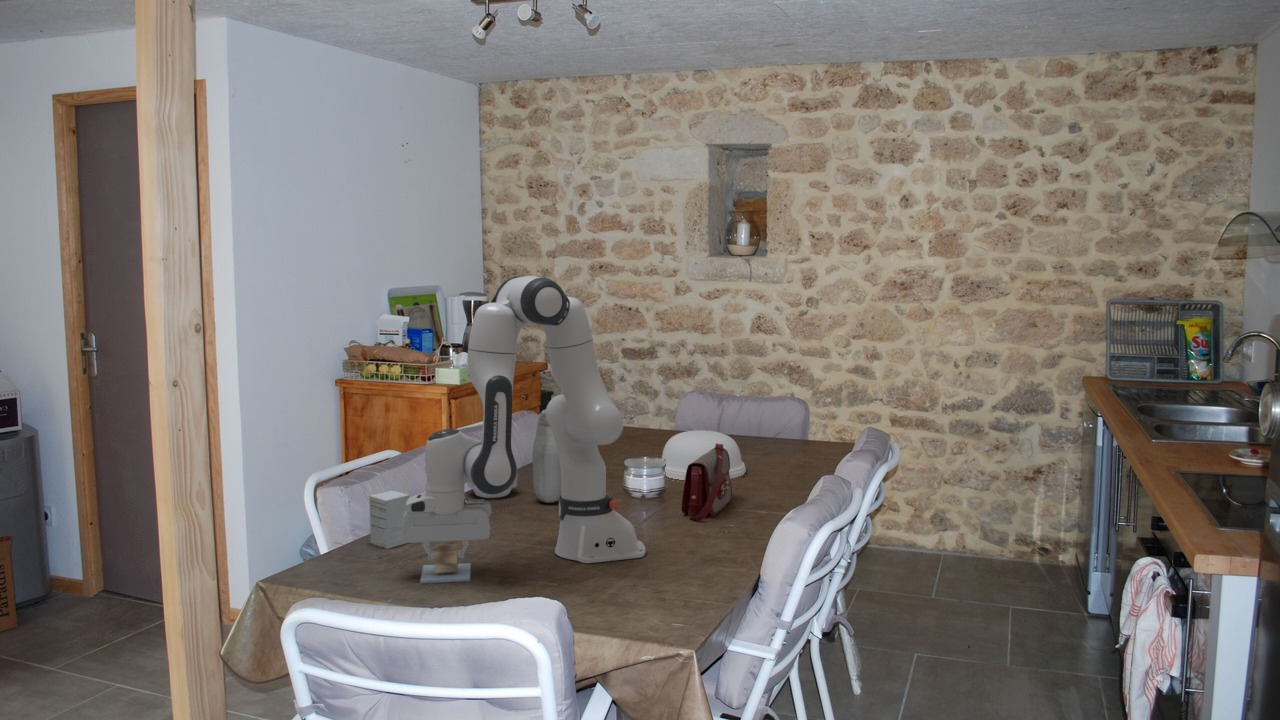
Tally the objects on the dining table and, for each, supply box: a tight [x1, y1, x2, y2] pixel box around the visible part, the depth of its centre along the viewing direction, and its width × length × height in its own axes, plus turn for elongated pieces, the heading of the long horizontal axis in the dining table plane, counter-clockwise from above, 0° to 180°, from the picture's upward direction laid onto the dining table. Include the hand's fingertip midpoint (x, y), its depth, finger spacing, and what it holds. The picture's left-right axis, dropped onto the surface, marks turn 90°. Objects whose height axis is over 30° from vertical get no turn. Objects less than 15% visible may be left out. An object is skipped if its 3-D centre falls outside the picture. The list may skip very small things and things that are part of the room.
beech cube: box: [433, 543, 459, 573], centre depth 227 cm, size 5×5×5 cm
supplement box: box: [368, 490, 410, 550], centre depth 251 cm, size 7×7×13 cm
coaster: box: [419, 562, 472, 584], centre depth 228 cm, size 11×11×1 cm
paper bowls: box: [466, 473, 518, 499], centre depth 301 cm, size 15×15×8 cm
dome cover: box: [661, 429, 747, 480], centre depth 332 cm, size 32×30×14 cm
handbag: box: [681, 443, 733, 521], centre depth 285 cm, size 28×11×17 cm, turn 160°
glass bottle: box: [532, 408, 561, 504], centre depth 292 cm, size 10×10×28 cm
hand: (446, 559), depth 227 cm, fingers open, 5 cm apart
